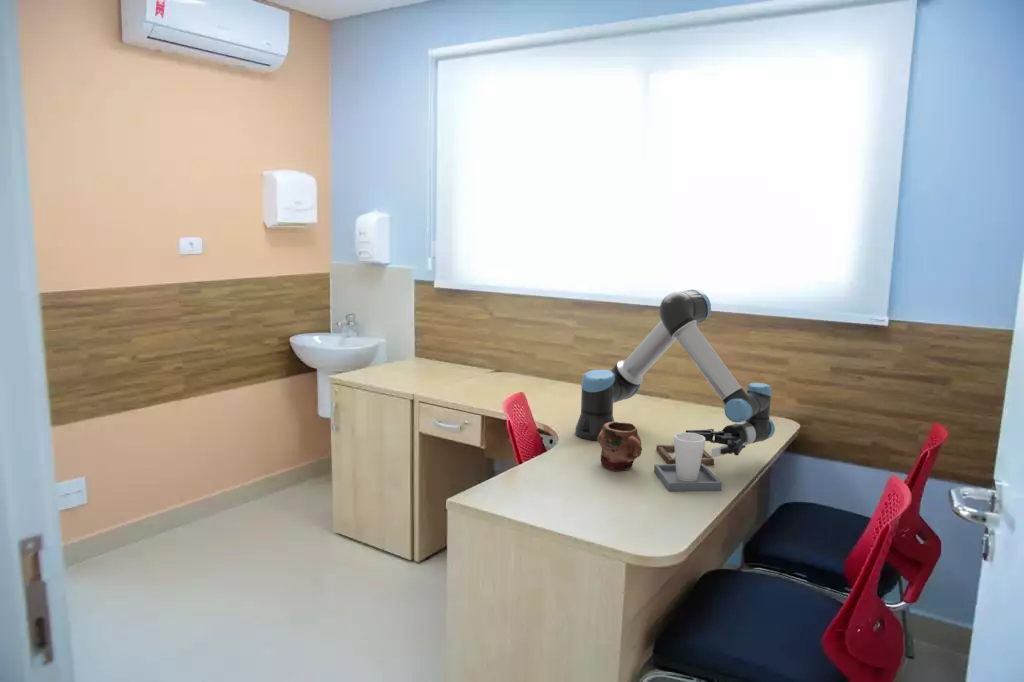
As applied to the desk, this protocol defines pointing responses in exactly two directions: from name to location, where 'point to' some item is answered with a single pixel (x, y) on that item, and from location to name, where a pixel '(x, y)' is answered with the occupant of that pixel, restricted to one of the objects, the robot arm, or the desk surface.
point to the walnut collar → (668, 459)
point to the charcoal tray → (672, 483)
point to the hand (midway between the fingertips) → (694, 446)
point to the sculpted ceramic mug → (619, 445)
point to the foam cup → (688, 455)
